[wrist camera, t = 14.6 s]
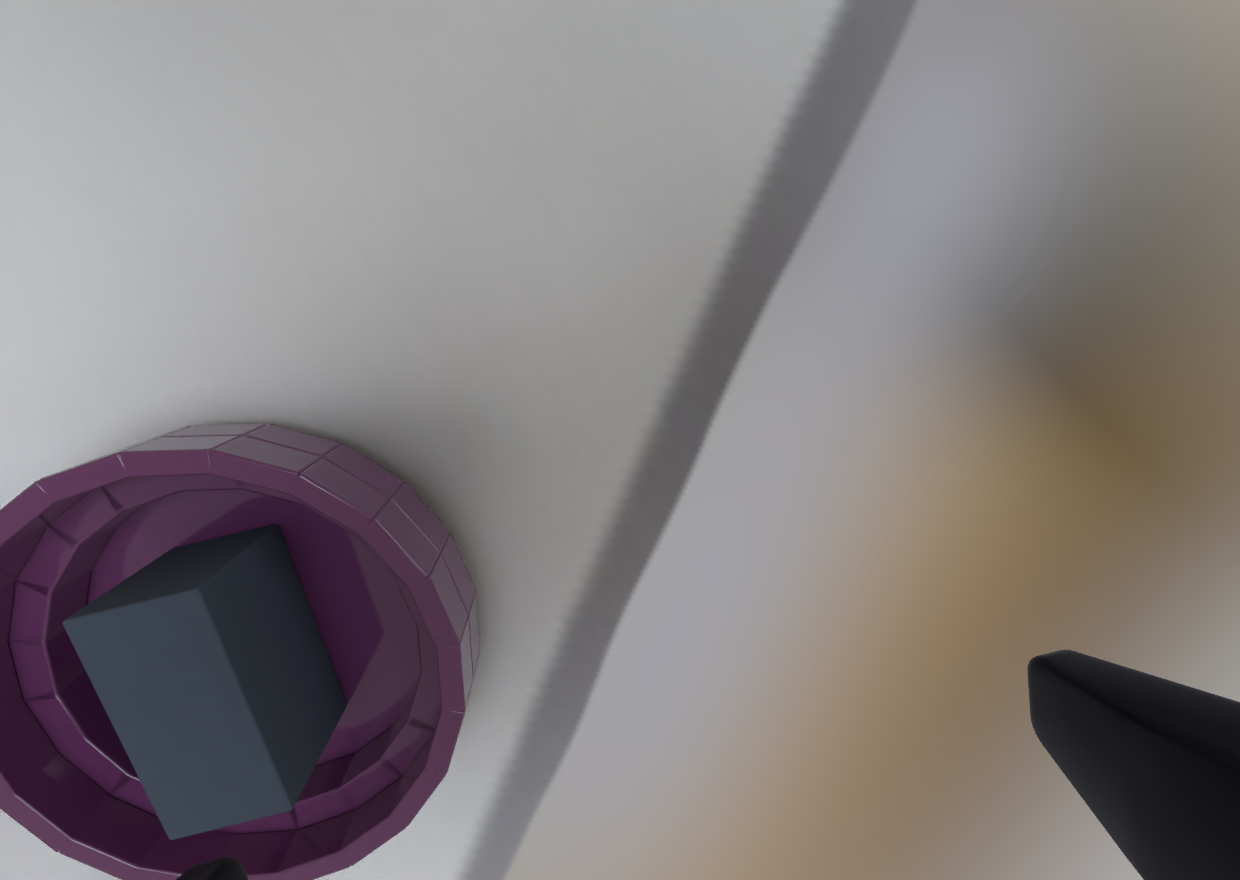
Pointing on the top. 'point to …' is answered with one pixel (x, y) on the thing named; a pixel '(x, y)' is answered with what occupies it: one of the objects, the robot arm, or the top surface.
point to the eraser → (213, 679)
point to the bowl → (338, 598)
